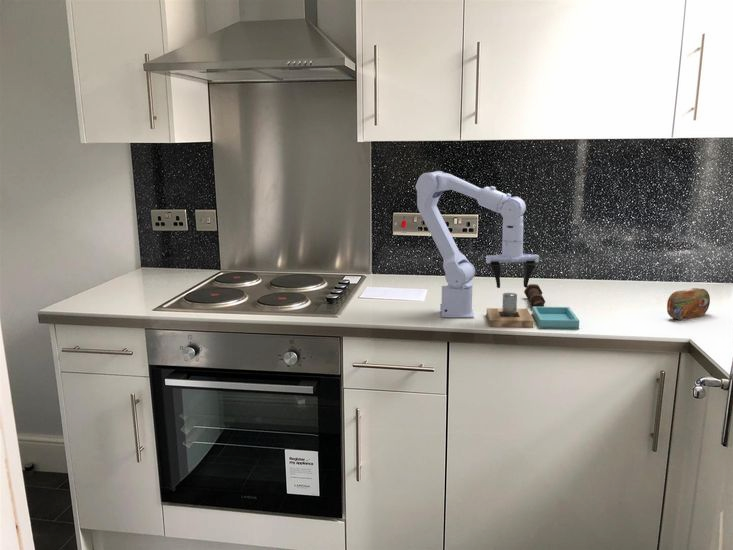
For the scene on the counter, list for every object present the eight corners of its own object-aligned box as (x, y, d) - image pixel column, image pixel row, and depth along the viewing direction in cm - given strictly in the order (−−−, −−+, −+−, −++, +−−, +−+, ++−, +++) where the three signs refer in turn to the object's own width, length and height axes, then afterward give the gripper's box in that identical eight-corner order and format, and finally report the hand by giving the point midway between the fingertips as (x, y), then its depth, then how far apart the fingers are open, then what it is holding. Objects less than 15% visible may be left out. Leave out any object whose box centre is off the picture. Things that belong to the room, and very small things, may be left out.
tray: (539, 328, 174) (540, 320, 174) (532, 314, 187) (532, 306, 187) (578, 329, 173) (579, 320, 172) (568, 315, 186) (569, 306, 186)
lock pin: (502, 322, 180) (503, 296, 178) (501, 318, 184) (502, 292, 182) (516, 323, 179) (517, 296, 178) (515, 319, 183) (516, 292, 181)
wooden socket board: (489, 326, 176) (490, 320, 176) (486, 314, 188) (486, 308, 188) (533, 327, 175) (533, 320, 175) (527, 315, 187) (527, 308, 186)
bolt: (535, 317, 191) (530, 302, 206) (550, 309, 190) (544, 295, 205) (526, 301, 191) (521, 287, 205) (542, 293, 189) (535, 280, 204)
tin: (672, 322, 178) (675, 293, 176) (663, 319, 181) (666, 291, 179) (709, 315, 184) (712, 287, 182) (700, 312, 187) (703, 285, 185)
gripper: (488, 243, 173) (488, 290, 176) (541, 242, 172) (540, 289, 175) (485, 239, 180) (485, 284, 183) (536, 238, 179) (535, 284, 182)
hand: (511, 287), depth 179 cm, fingers open, 7 cm apart
